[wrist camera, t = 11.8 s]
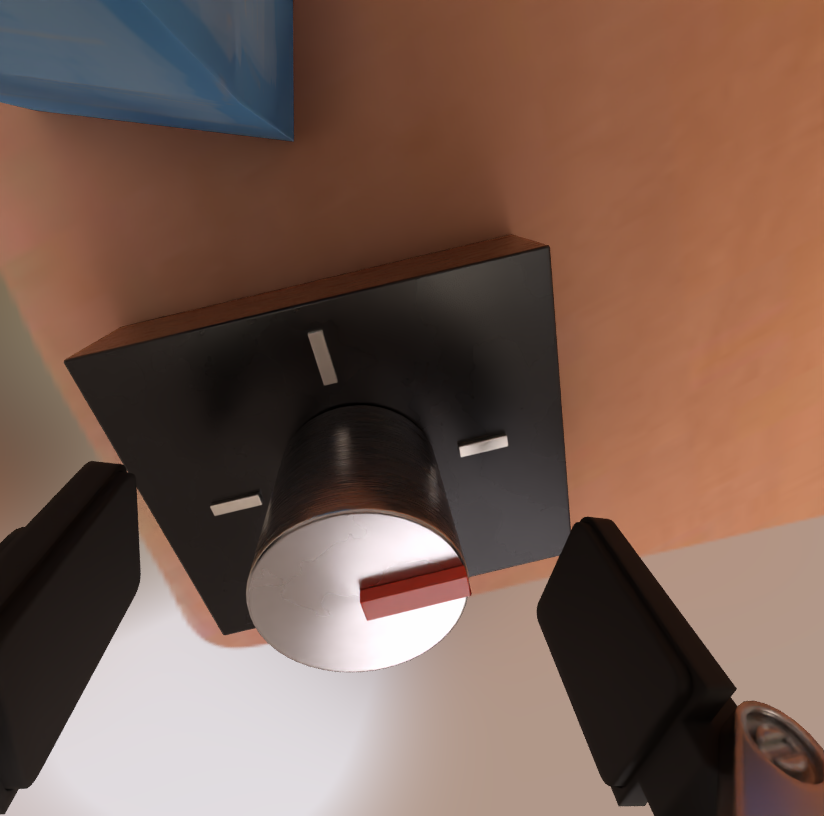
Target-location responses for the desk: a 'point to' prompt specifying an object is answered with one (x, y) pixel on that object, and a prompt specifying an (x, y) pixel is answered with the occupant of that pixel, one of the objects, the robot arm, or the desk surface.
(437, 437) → the panel
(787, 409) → the desk surface
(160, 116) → the perfume bottle
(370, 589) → the knob
